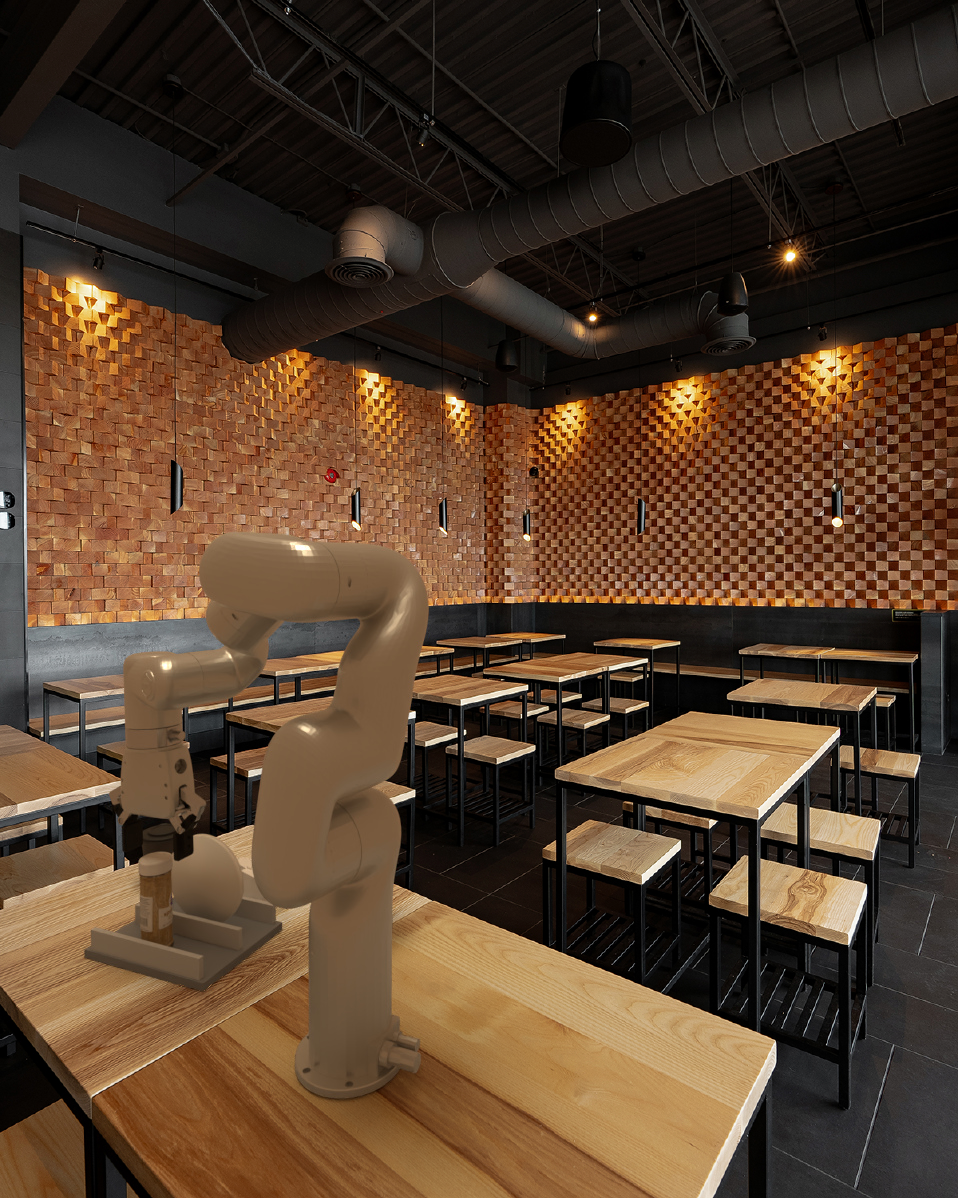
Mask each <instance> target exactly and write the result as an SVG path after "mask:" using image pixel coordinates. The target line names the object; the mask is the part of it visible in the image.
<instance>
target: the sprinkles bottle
mask: <svg viewBox="0 0 958 1198" xmlns="http://www.w3.org/2000/svg"><path fill="white" fill-rule="evenodd" d="M137 865H138V866H137V867H138V869H137V870H138V871H137V872H138V876H139V903H140V928H141V939H142V940H146V941H150V942H153V943H157V944H161V945H165V946H168V947H170V946H171V945H172V944H173V941H174V939H173V930H172V928H173V927H172V921H173V909H172V898H173V893H172V880H171V879H172V877H171V874H172V873H171V871H172V867H173V856H172V854H170V853H168V852H154V853H150V854H147V855H145V856H142V857H140V858H139V860H138V864H137Z"/></svg>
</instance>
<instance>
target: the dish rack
mask: <svg viewBox="0 0 958 1198" xmlns="http://www.w3.org/2000/svg"><path fill="white" fill-rule="evenodd" d="M193 843H194V852H193V854H192V855H190V856H188V857H186V858H184V859H182V860H180V861H175V860H174V854H172V856H173V867H172V871H171V873H172V874H171V877H172V879H171V880H172V909H173V921H172V927H173V928H172V930H173V939H174V941H173V944H172V945H171V946H170V947H168V946H165V945H161V944H157V943H153V942H150V941H146V940H142V939H141V928H140V902H138V903H137V904H135V905H134V907H135V908H134V909H135V910H134V916H135V917H134V919H135V920H133V921H131V922H128V923H127V924H125V925H124V926H122V927H120V928H119V929H117V930H115V931H111V930H108V929H104V928H100V927H96V926H95V927H93V928H91V929H90V946H88V947H86V948H84V949H83V950H84V951H83V953H84V954H83V955H84V958H85V959H89V960H92V961H94V962H95V961H96V962H98V963H102V964H106V965H109V966H113V967H116V968H120V969H123V970H125V971H129V972H132V973H136V974H140V975H143V976H147V977H151V978H153V979H158V980H161V981H164V982H167V981H168V983H170V982H172V983H171V984H173V985H174V984H175V985H177V984H181V985H184V986H186V987H185V988H188V989H191V988H194V989H197V990H196V991H198V990H200V991H199V992H201V991H204V990H205V991H207V990H208V989H209V988H210V987H211V986H210V985H211V984H213V983H214V982H216V981H217V980H218V981H220V980H221V979H222V978H223V977H224V976H226V975H227V974H228V973H230V972H231V971H232V970H233V969H235V968H236V967H237V966H238V965H240V964H241V963H242V962H243V961H244V960H246V959H248V957H250V956H251V955H252V954H253V953H255V952H256V951H257V950H259V949H260V948H261V947H263V946H264V945H265V944H267V942H269V941H270V940H271V939H273V938H274V937H276V935H278V933H280V932H282V931H283V922H282V921H277V915H276V914H277V910H276V909H277V907H276V906H274V905H272V904H271V903H269V902H267V901H263V900H258V899H254V898H249V897H245V896H243V892H244V880H243V874H242V870H241V867H240V864H239V862H238V860H237V859H238V858H237V856H236V855H235V853H234V852H233V851H232V849H231V847H229V846H228V845H227V843H225V842H224V841H223V840H221V839H220V838H218V837H216V836H214V835H212V834H207V833H197V834H193ZM222 976H223V977H222ZM221 977H222V978H221ZM220 978H221V979H220ZM218 981H217V982H218ZM217 982H216V983H217ZM214 984H215V983H214ZM214 984H213V985H214ZM181 985H180V986H181ZM184 986H183V987H184ZM209 986H210V987H209ZM208 987H209V988H208ZM207 988H208V989H207ZM194 989H193V990H194ZM206 989H207V990H206ZM205 991H204V992H205Z"/></svg>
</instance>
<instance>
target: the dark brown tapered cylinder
mask: <svg viewBox="0 0 958 1198" xmlns="http://www.w3.org/2000/svg"><path fill="white" fill-rule="evenodd" d="M176 832H177V831H176V830H175V828H174V826H173V825H172V823H167V822H164V823H160V824H158V825H154V826H150V827H148V828H146V829H144V830H143V845H142V846H141V849H142V855H143V856H145V855H147V854H150V853H154V852H168V853H170V854H173V834H174V833H176ZM143 856H142V857H143Z"/></svg>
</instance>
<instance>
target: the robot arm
mask: <svg viewBox="0 0 958 1198" xmlns="http://www.w3.org/2000/svg"><path fill="white" fill-rule="evenodd" d="M198 566H199V568H198V577H199V578H198V579H199V583H200V587H201V589H202V591H203V593H204V594H205V595H206V597H207V598H208V599H209V600H210V601H209V603H208V604H207V607H206V610H205V621H206V624H207V627H208V629H209V631H210V632H211V634H212V635H213V637H214V638H215V639H216V640H217V641H218V642H220V644H222V645H223V646H222V647H220V648H217V649H207V650H201V651H190V652H189V651H188V652H183V653H175V652H171V651H164V650H163V651H162V650H159V651H157V650H156V651H153V650H152V651H142V652H136V653H131V654H129V655H128V656H127V657H126V658H125V659H124V661H123V667H122V668H123V670H122V671H123V673H122V674H123V698H124V699H123V701H124V702H123V703H124V708H123V709H124V728H125V729H124V733H125V746H124V749H123V754H122V758H121V759H122V761H121V767H120V768H121V770H120V785H119V786H117V787H116V788H114V789H112V790H110V791H109V793H108V796H109V798H110V801H111V803H112V810H113V812H114V813H115V814H116V816H117V817H118V818H117V822H118V824H119V825H120V826H121V846H122V847H121V849H122V851H121V852H122V853H129V852H130V851H131V852H132V851H133V850H135V849H138V848H140V847H142V845H143V831H144V830H143V829H144V828H143V818H140V817H148V818H156V819H162V820H163V819H164V820H168V821H169V822H170V824H172V825H173V826H174V828H175V830H176V831H177V832H176V833H174V834H173V854H174V860H175V861H180V860H182V859H184V858H186V857H188V856H190V855H192V854H193V852H194V843H193V835H194V828H196V827H197V826H198V825H197V824H198V823H199V822H200V821H201V820H202V818H203V813H204V811H205V809H206V806H207V802H206V800H205V799H204V798H202V797H201V796H200V795H199V794H197V793H196V792H195V791H196V790H195V780H194V779H195V778H194V772H193V764H192V759H191V754H190V751H189V748H188V745H187V744H184V740H185V739H186V732H185V731H183V709H185V708H189V707H194V706H199V705H204V704H211V703H216V702H221V701H227V700H229V699H231V698H232V699H233V698H234V697H235V696H238V695H239V694H241V693H242V692H244V690H245V689H247V687H249V686H250V685H251V684H252V683H253V682H254V681H255V680H256V679H257V678H258V677H259V676H260V675H261V673H263V671H264V669H265V667H266V665H267V661H268V657H269V650H270V649H269V647H270V645H269V644H270V643H269V640H268V639H269V638H270V637H271V636H272V635H273V634H274V633H275V632H276V631H277V630H278V629H279V628H280V627H281V626H282V625H283V624H284V623H285V622H286V623H287V622H288V623H297V624H298V623H302V624H303V623H304V624H305V623H307V624H308V623H320V622H331V621H342V620H343V621H344V620H353V619H357V620H358V621H359V623H360V624H359V627H358V628H357V630H356V631H355V633H354V634H353V636H352V637H351V638H350V640H349V642H348V643H347V644H346V645H347V646H346V647H345V649H344V651H343V654H342V656H341V658H340V661H339V665H338V668H337V675H336V676H337V677H336V684H335V689H334V694H333V697H332V700H331V702H330V704H329V706H327V708H325V709H323V710H319V711H314V712H311V713H306V714H303V715H299V716H297V717H294V718H292V719H290V720H288V721H286V722H285V723H284V724H282V726H280V728H279V729H277V731H276V732H275V733H274V735H273V736H272V738H271V740H270V741H269V743H268V744H267V745H268V746H267V748H266V750H265V752H264V757H263V762H262V769H261V773H260V774H261V775H260V781H259V789H258V796H257V803H256V811H255V816H254V817H255V818H254V825H253V834H252V840H251V851H250V852H251V859H250V860H251V861H252V870H253V875H254V879H255V882H256V885H257V887H258V889H259V891H260V893H261V894H262V896H263V897H264V898H265V899H266V900H267V901H268V902H269V903H271V904H272V905H274V906H276V908H280V909H288V910H291V909H297V908H301V907H304V906H306V905H309V904H310V906H309V912H308V1033H307V1034H305V1036H304V1037H303V1038H302V1039H301V1040H300V1041H299V1042H300V1043H299V1044H298V1046H297V1048H296V1051H295V1054H294V1071H295V1074H296V1077H297V1080H298V1081H299V1082H300V1084H301V1085H302V1086H303V1087H304V1088H305V1089H306V1090H308V1091H310V1092H311V1093H313V1094H315V1095H318V1096H321V1097H325V1098H329V1099H342V1100H343V1099H352V1098H356V1097H357V1096H358V1097H361V1096H365V1095H367V1094H370V1093H373V1092H375V1091H377V1090H378V1089H380V1088H382V1087H383V1086H385V1085H386V1084H387V1083H389V1082H390V1081H391V1080H393V1078H394V1077H395V1076H396V1075H397V1074H398V1073H399V1072H400V1070H402V1071H406V1072H409V1073H413V1074H417V1072H418V1071H419V1068H420V1066H421V1062H422V1054H421V1053H420V1052H418V1051H419V1050H420V1045H421V1039H420V1038H418V1037H414V1036H411V1035H405V1034H403V1031H402V1030H401V1027H400V1026H401V1017H400V1016H399V1015H397V1014H392V1013H393V1012H392V1010H393V1008H392V1005H393V1002H392V1000H393V998H392V997H393V983H392V982H393V906H394V905H393V900H394V897H393V896H394V882H395V876H396V869H397V864H398V860H399V859H398V858H399V854H400V849H401V841H402V825H401V817H400V814H399V811H398V808H397V806H396V805H395V804H394V802H393V800H392V799H391V798H390V797H389V796H388V795H387V794H386V793H385V792H383V791H381V790H379V789H377V788H374V787H376V786H378V785H379V784H382V783H384V782H385V781H387V780H388V779H390V778H391V777H392V776H393V775H394V774H395V773H396V772H397V770H398V769H399V766H400V763H401V760H402V756H403V750H404V747H405V740H406V734H407V729H408V723H409V717H410V711H411V704H412V701H413V695H414V693H413V692H414V685H415V679H416V673H417V669H418V664H419V661H420V656H421V653H422V648H423V645H424V642H425V641H424V640H425V637H426V633H427V628H428V624H429V623H428V622H429V608H430V607H429V606H430V604H429V596H428V591H427V587H426V585H425V582H424V580H423V577H422V576H421V574H420V572H419V570H418V569H417V567H416V566H415V564H413V563H412V562H411V560H410V559H409V558H407V557H406V556H405V555H403V554H402V553H400V552H398V551H396V550H394V549H392V548H390V547H387V546H383V545H378V544H372V543H360V542H330V541H313V540H312V541H311V540H310V541H309V540H305V539H304V538H301V537H298V536H295V535H290V534H287V533H286V534H284V533H273V532H272V533H271V532H253V531H252V532H251V531H229V532H226V533H224V534H221V535H219V536H218V537H216V538H214V539H213V540H212V542H210V543H209V544H208V546H207V547H206V548H205V550H204V552H203V553H202V556H201V559H200V561H199V565H198ZM180 816H182V818H183V821H182V820H181V817H180Z"/></svg>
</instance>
